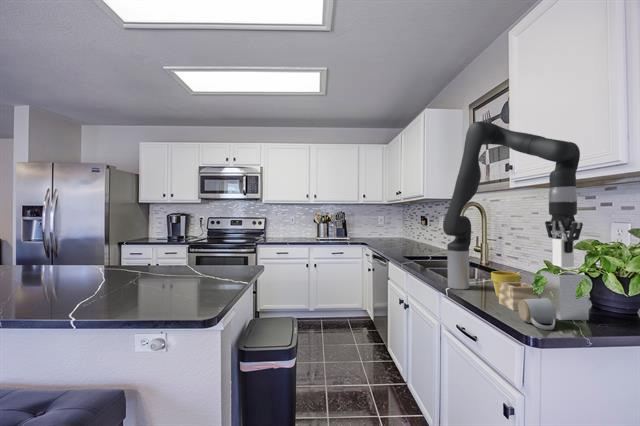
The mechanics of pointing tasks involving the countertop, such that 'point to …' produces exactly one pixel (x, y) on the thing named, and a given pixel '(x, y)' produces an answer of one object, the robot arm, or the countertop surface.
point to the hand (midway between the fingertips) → (562, 251)
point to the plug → (562, 254)
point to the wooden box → (515, 293)
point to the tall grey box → (566, 295)
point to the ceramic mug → (538, 312)
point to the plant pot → (503, 278)
